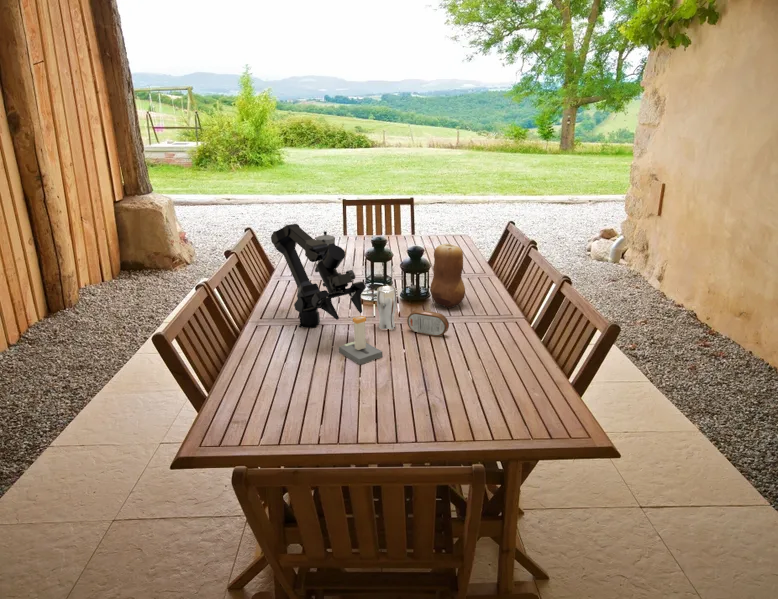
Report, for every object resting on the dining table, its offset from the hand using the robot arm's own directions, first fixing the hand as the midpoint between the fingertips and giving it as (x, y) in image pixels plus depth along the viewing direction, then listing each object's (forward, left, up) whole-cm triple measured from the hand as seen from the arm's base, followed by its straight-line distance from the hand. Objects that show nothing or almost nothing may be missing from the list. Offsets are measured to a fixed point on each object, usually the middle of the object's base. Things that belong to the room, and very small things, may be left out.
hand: (349, 315), depth 190 cm
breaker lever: (+4, -4, -10) cm, 11 cm away
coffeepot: (-29, +90, -12) cm, 96 cm away
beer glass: (+10, +19, -12) cm, 25 cm away
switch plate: (+4, -4, -12) cm, 13 cm away
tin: (+25, +15, -12) cm, 32 cm away
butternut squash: (+31, +44, -12) cm, 55 cm away
